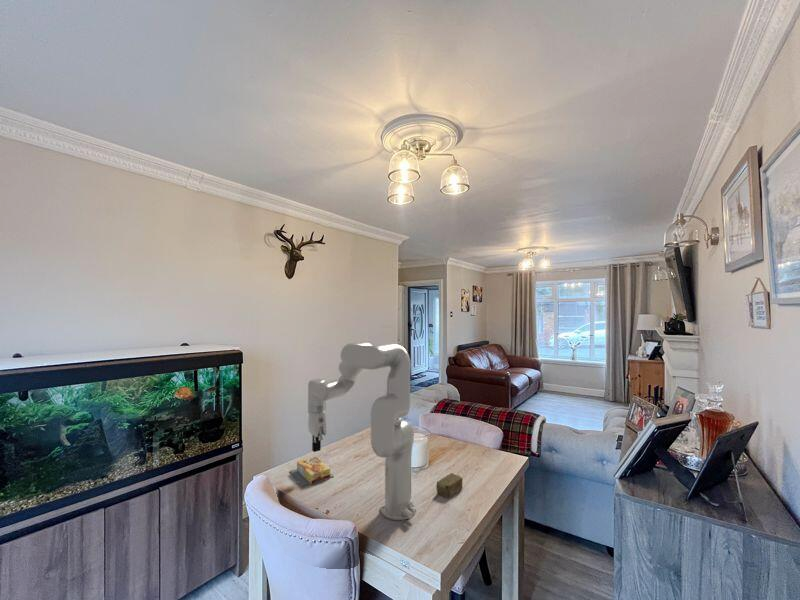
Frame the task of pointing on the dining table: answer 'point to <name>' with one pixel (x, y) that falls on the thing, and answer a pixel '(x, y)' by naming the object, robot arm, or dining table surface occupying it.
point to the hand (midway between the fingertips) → (316, 450)
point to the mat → (301, 479)
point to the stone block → (449, 485)
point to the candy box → (313, 470)
